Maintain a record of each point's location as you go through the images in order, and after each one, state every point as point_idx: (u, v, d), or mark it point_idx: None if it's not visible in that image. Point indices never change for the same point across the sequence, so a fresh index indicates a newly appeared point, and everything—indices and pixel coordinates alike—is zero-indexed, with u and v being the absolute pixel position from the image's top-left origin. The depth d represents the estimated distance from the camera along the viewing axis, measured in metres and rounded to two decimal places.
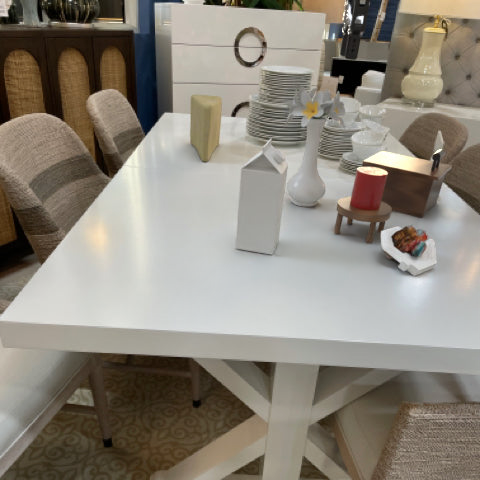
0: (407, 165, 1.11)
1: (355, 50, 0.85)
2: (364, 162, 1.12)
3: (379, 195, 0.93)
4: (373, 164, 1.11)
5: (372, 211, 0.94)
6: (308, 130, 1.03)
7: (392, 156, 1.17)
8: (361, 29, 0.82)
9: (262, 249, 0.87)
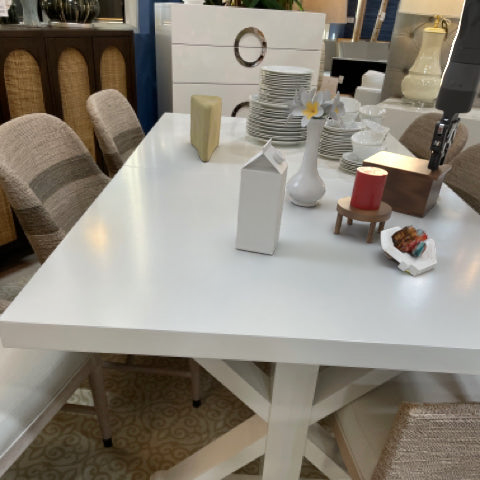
0: (407, 165, 1.11)
1: (435, 164, 1.06)
2: (364, 162, 1.12)
3: (379, 195, 0.93)
4: (373, 164, 1.11)
5: (372, 211, 0.94)
6: (308, 130, 1.03)
7: (392, 156, 1.17)
8: (438, 150, 1.03)
9: (262, 249, 0.87)
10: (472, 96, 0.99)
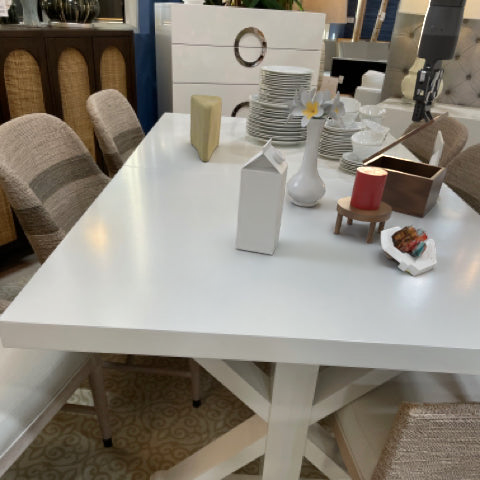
0: None
1: (419, 115, 1.04)
2: (364, 161, 1.11)
3: (379, 195, 0.93)
4: (372, 155, 1.10)
5: (372, 211, 0.94)
6: (308, 130, 1.03)
7: None
8: (421, 99, 1.01)
9: (262, 249, 0.87)
10: (454, 41, 0.96)
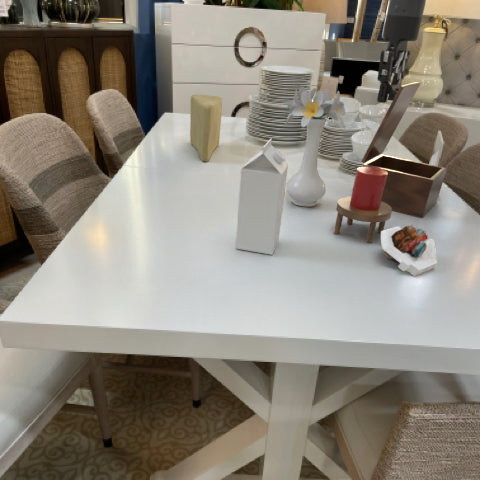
0: None
1: (383, 95, 1.06)
2: (363, 160, 1.12)
3: (379, 195, 0.93)
4: (367, 151, 1.10)
5: (372, 211, 0.94)
6: (308, 130, 1.03)
7: None
8: (385, 79, 1.03)
9: (262, 249, 0.87)
10: (417, 22, 0.99)
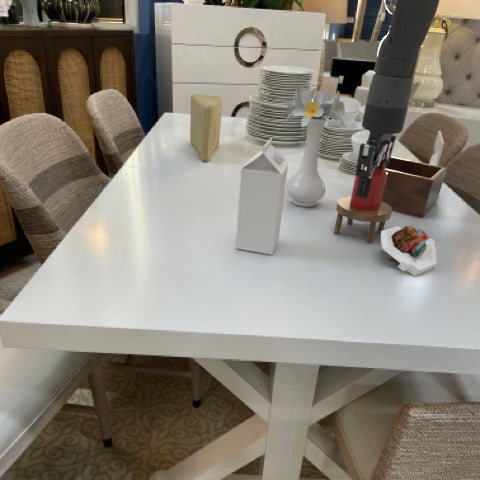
0: None
1: (363, 191, 0.91)
2: None
3: (379, 195, 0.93)
4: None
5: (372, 211, 0.94)
6: (308, 130, 1.03)
7: None
8: (364, 176, 0.88)
9: (262, 249, 0.87)
10: (402, 114, 0.84)
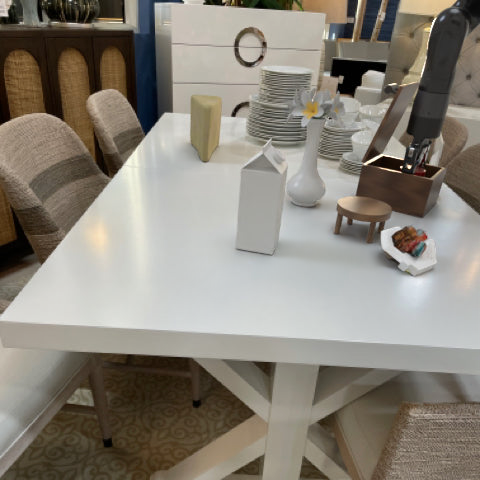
0: None
1: None
2: (363, 160, 1.12)
3: None
4: (367, 151, 1.10)
5: (372, 211, 0.94)
6: (308, 130, 1.03)
7: None
8: (409, 173, 1.08)
9: (262, 249, 0.87)
10: (440, 123, 1.04)
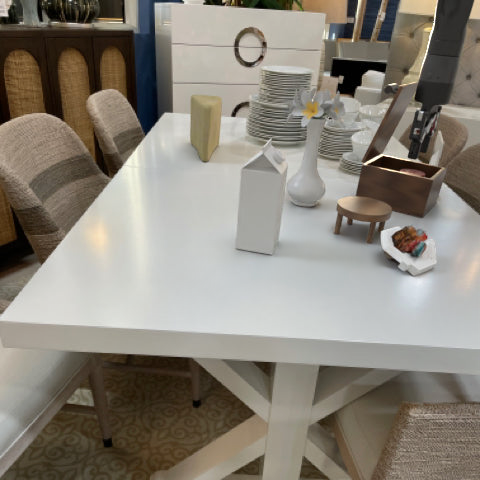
0: None
1: (414, 153, 1.06)
2: (363, 160, 1.12)
3: None
4: (367, 151, 1.10)
5: (372, 211, 0.94)
6: (308, 130, 1.03)
7: None
8: (417, 139, 1.03)
9: (262, 249, 0.87)
10: (450, 88, 1.00)
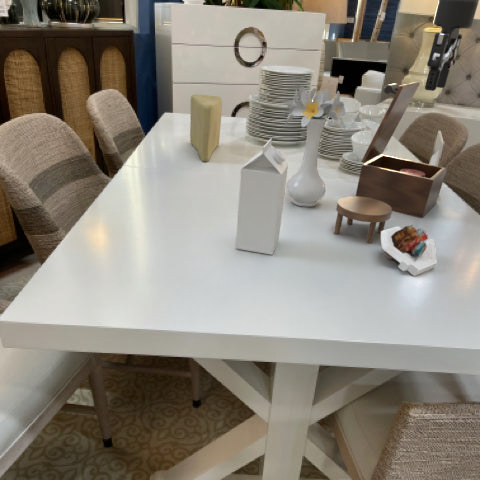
0: None
1: (433, 82, 0.98)
2: (363, 160, 1.12)
3: None
4: (367, 151, 1.10)
5: (372, 211, 0.94)
6: (308, 130, 1.03)
7: None
8: (436, 65, 0.95)
9: (262, 249, 0.87)
10: (473, 8, 0.93)
